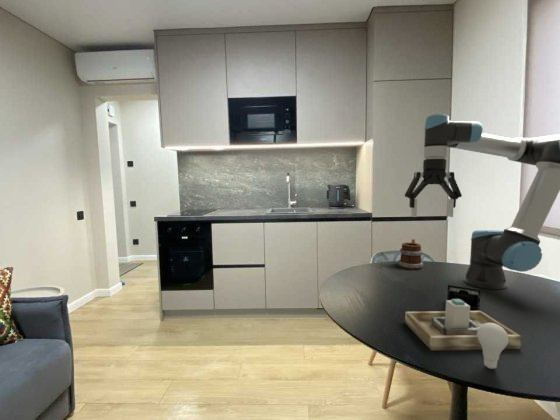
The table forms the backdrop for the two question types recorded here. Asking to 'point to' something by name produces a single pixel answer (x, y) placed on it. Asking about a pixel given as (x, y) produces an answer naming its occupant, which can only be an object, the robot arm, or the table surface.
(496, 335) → the lightbulb
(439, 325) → the grey rectangular frame
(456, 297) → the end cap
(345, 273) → the table surface
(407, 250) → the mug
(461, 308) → the white block teal patch
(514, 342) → the birch box
